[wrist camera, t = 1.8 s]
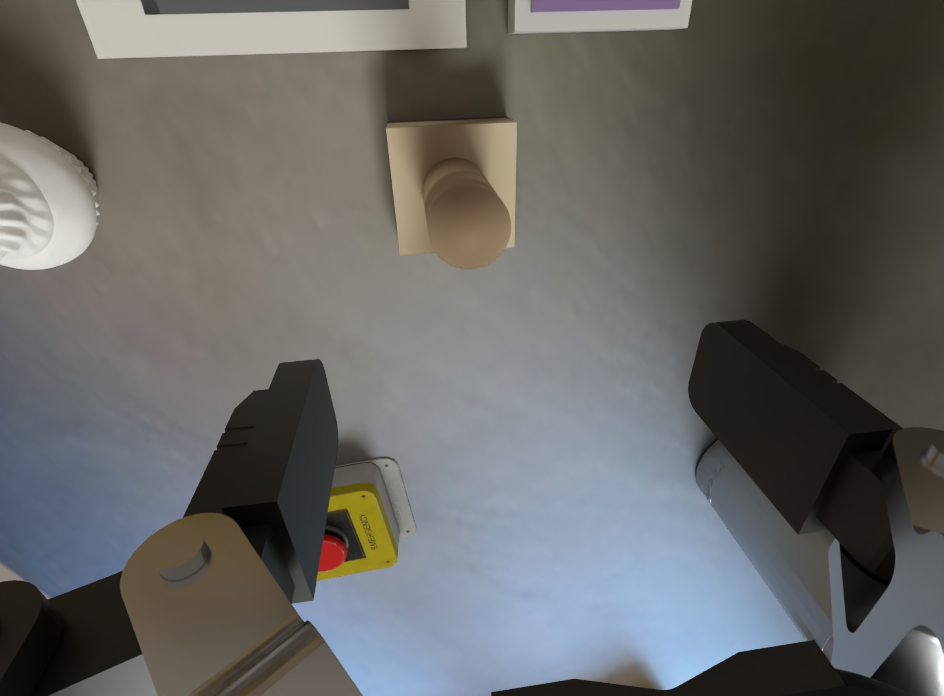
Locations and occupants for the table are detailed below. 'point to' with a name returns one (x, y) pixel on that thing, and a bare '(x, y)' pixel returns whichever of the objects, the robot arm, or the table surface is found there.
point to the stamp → (454, 187)
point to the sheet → (269, 26)
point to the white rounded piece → (43, 202)
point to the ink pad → (596, 15)
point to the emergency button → (365, 518)
